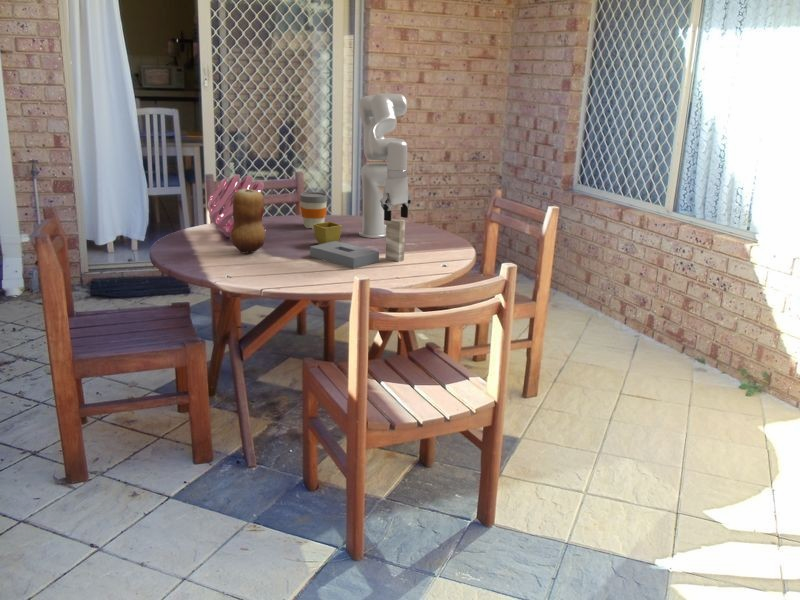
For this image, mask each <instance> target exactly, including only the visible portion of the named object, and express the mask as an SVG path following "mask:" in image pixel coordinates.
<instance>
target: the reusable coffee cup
mask: <svg viewBox="0 0 800 600" xmlns="http://www.w3.org/2000/svg"><path fill="white" fill-rule="evenodd" d="M299 202H300V205H301V206H300V212H301V217H302V220H303V225H304V226H305V227H306V228H305V227H304V228H305V229H308V228H312V229H311V230H314V226H313V224H318V223H325V222H326V221H325V220H326V219H325V218H326V217H327V210H328V206H327V205H328V203H327V202H328V194H327V193H325V192H316V191H313V192H311V191H310V192H309V191H308V192H302V193H300V196H299Z"/></svg>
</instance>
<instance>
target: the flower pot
mask: <svg viewBox="0 0 800 600" xmlns="http://www.w3.org/2000/svg"><path fill="white" fill-rule="evenodd" d="M313 226H314V229H313V232H314V237H315V239H316V241H317V243H318V245H319V244H324V243H328V242H333V241H338V242H340V238H341V235H342V224H338V223H336V222H332V221H324V223H318V224H313Z"/></svg>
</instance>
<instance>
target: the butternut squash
mask: <svg viewBox="0 0 800 600" xmlns="http://www.w3.org/2000/svg"><path fill="white" fill-rule="evenodd" d="M264 208H265V199H264V195H263V193H262V192H259V191H256V190H251V188H249V189H241V190H238V191H237V192H236V193H235V195H234V199H233V216H232V217H233V219H234V225H233V228H232V232H231V238H230V240H231V243H232V245H233V246H234V247H235V248H236V249H237V250H238V251H240V252H241V253H242V252H248V253H254V252H257V250H259V249H260V248H262V247H263V246H264V243H265V241H266V231H264V228H265V227H264V225H263V217H264V210H265V209H264Z"/></svg>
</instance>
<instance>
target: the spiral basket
mask: <svg viewBox="0 0 800 600" xmlns="http://www.w3.org/2000/svg"><path fill="white" fill-rule="evenodd" d="M240 178H241V175H240V174H239V173H238V174H233V176H232V177H231V178H230V179H229V178H228V177H224V178H223V179H222V180H221V181H220V182H219V183H218V185H217V187H216V188H215V189H214V191H213V193H212V194H211V193H210V194H209V199H208V202H207V208H208V210H209V215H208V216H209V220H210V221H212V222H213V224H214V225H215V229H216V230H217V231H219V232H222V233H224V236H225V237H227V238H228V237H230V238H229V239H231V232H232V228H233V225H234V219H233V199H234V195H235V193H236V192H237V191H238V190H241V189H251V190H256V191H259V192H261V193H262V192H263V191H264V187H265V183H264V182H263V181H262V180H257V181H256V182H255V183H254V184H253V186H251V185H252V182H253V180H254V177H253V176H252V175H249V174H247V175H246V176H244V178H243V179H242V180H241V181H240V182H239V180H240ZM228 179H229V181H228ZM227 181H228V182H227ZM237 184H238V185H237ZM250 187H251V188H250ZM219 213H220V214H219ZM225 228H226V229H225ZM264 231H265V232H266V231H267V229H266V227H264Z"/></svg>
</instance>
